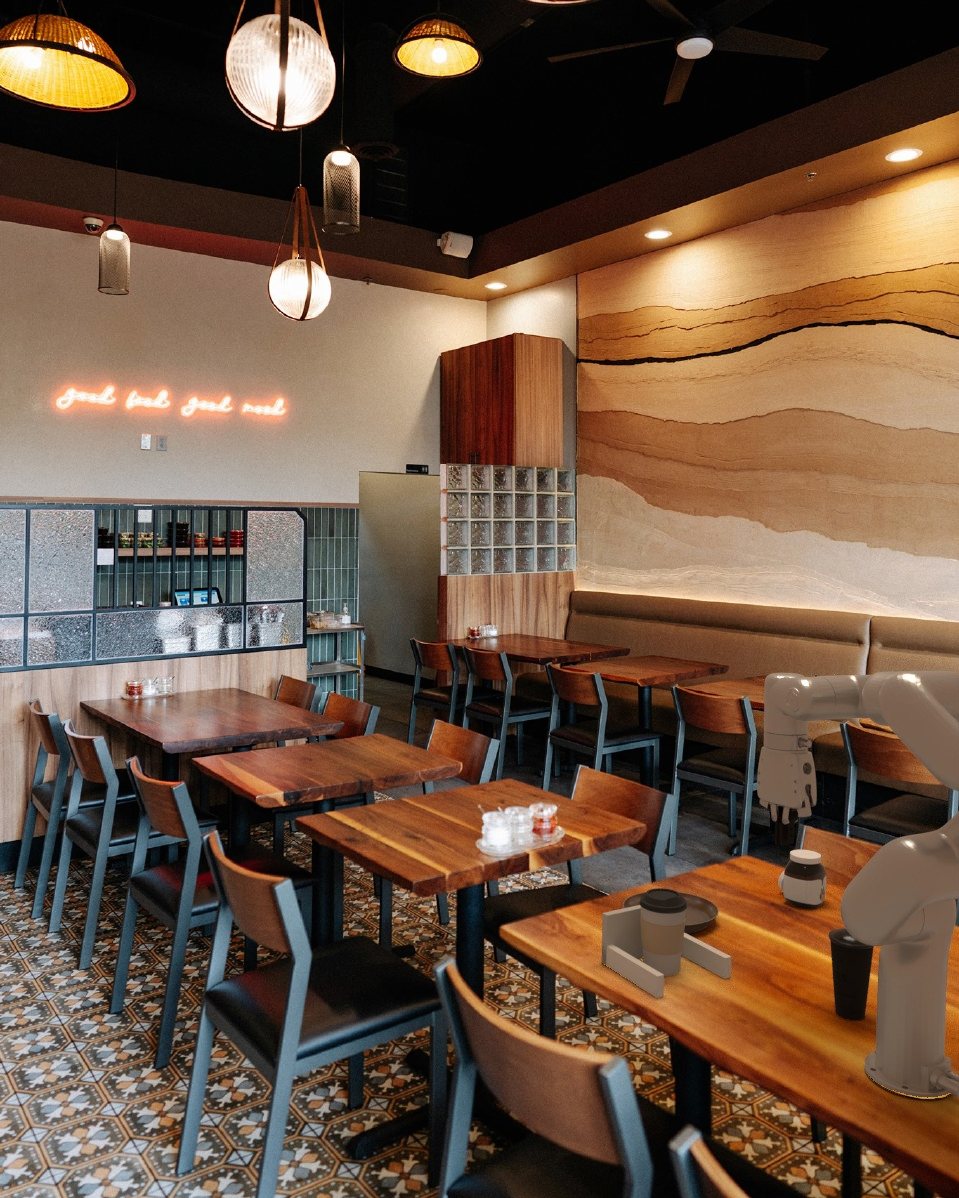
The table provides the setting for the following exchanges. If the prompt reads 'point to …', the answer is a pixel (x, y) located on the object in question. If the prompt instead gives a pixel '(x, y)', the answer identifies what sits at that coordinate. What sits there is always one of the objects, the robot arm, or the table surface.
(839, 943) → the drinking cup
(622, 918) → the box
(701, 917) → the plant saucer
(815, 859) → the spread jar
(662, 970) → the coffee cup
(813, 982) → the table surface
